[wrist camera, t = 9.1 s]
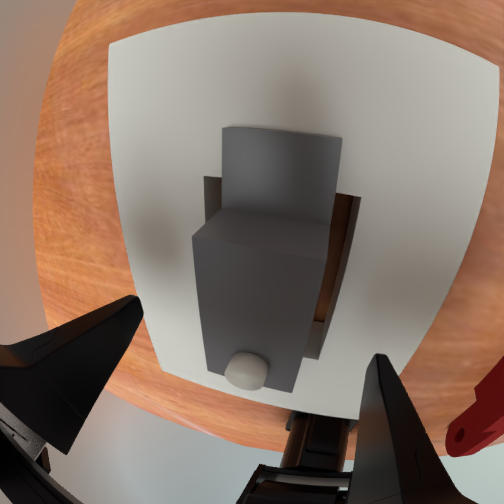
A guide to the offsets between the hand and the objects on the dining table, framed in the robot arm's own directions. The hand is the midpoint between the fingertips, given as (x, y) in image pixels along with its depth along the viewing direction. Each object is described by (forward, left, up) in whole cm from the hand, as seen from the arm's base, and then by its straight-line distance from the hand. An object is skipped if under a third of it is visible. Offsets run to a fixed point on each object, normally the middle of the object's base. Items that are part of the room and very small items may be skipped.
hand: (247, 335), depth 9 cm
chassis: (0, 0, -6) cm, 6 cm away
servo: (0, 0, -6) cm, 6 cm away
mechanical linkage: (-11, -23, -7) cm, 26 cm away
